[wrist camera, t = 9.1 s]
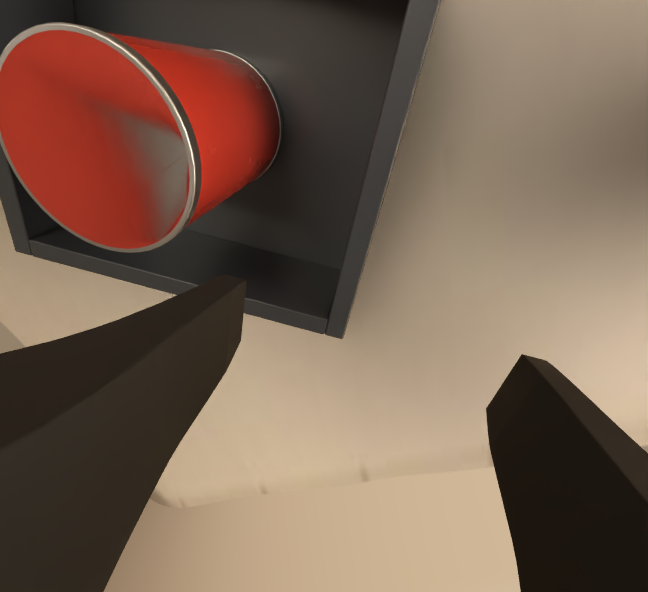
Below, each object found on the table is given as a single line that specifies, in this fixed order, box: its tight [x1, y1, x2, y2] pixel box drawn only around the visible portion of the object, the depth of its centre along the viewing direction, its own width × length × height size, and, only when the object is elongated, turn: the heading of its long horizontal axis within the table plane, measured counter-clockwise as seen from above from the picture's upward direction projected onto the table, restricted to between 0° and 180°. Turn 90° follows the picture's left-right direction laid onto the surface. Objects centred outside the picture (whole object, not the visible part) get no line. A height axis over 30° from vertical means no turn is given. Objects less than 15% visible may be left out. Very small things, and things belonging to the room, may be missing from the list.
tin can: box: [0, 22, 283, 253], centre depth 12 cm, size 5×5×8 cm
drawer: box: [0, 0, 441, 339], centre depth 14 cm, size 15×13×5 cm
